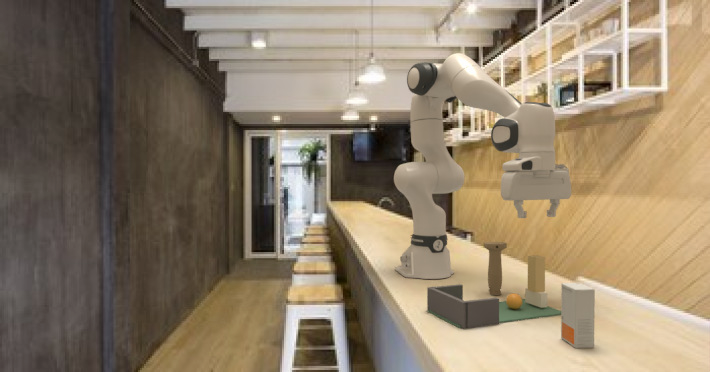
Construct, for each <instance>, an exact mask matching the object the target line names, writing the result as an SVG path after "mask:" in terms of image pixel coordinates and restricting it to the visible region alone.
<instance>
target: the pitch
mask: <svg viewBox="0 0 710 372" xmlns="http://www.w3.org/2000/svg"><path fill="white" fill-rule="evenodd" d="M426 310H427V309H426ZM427 313H429V314H431V315H433V316H434V317H437V318H439V319H440V320H441V319H442V320H443V321H444V322H447V323H448V324H451V325H452V326H455V327H456V328H458V329H462V328H461V326H460V325H458V324H456V323H454V322H452V321H450V320H448V319H446V318H444V317H442V316H440V315H438V314H436V313H434V312H432V311H430V310H427ZM555 316H556V317H557V316H561V310H560V309H557V308H554V307H551V306H549V305H547V307H543V308H540V307H538V306H535V305H532V304H529V303H526V302H525V298H522V305H521V307H520V308H518V309H511V308H509V307H508V306H507V304H506V300H504V301H503V300H502V301H499V324H503V323H511V322H518V320H519V321H525V319H527V320H533V318H534V319H540V318H539V317H542V318H548V317H555Z"/></svg>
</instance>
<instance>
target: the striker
mask: <svg viewBox="0 0 710 372" xmlns="http://www.w3.org/2000/svg"><path fill="white" fill-rule="evenodd" d="M524 291H525V293H524V299H525V302H526V303H529V304H532V305H535V306H538V307H540V308H543V307H547V306H548V292H546V256H542V255H538V254H536V255H527V288H525V290H524Z"/></svg>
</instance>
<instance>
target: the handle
mask: <svg viewBox="0 0 710 372" xmlns="http://www.w3.org/2000/svg"><path fill="white" fill-rule="evenodd" d="M507 245H508V244H507V242H504V241H485V242H483V248H484V249H486V250H488V267H487V284H488V293H489V294H490V295H491V296H495V297H497V296H500V295H502V290H501V289H502V285H503V266H502V251H504V250H505V249H506V248H507Z"/></svg>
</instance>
